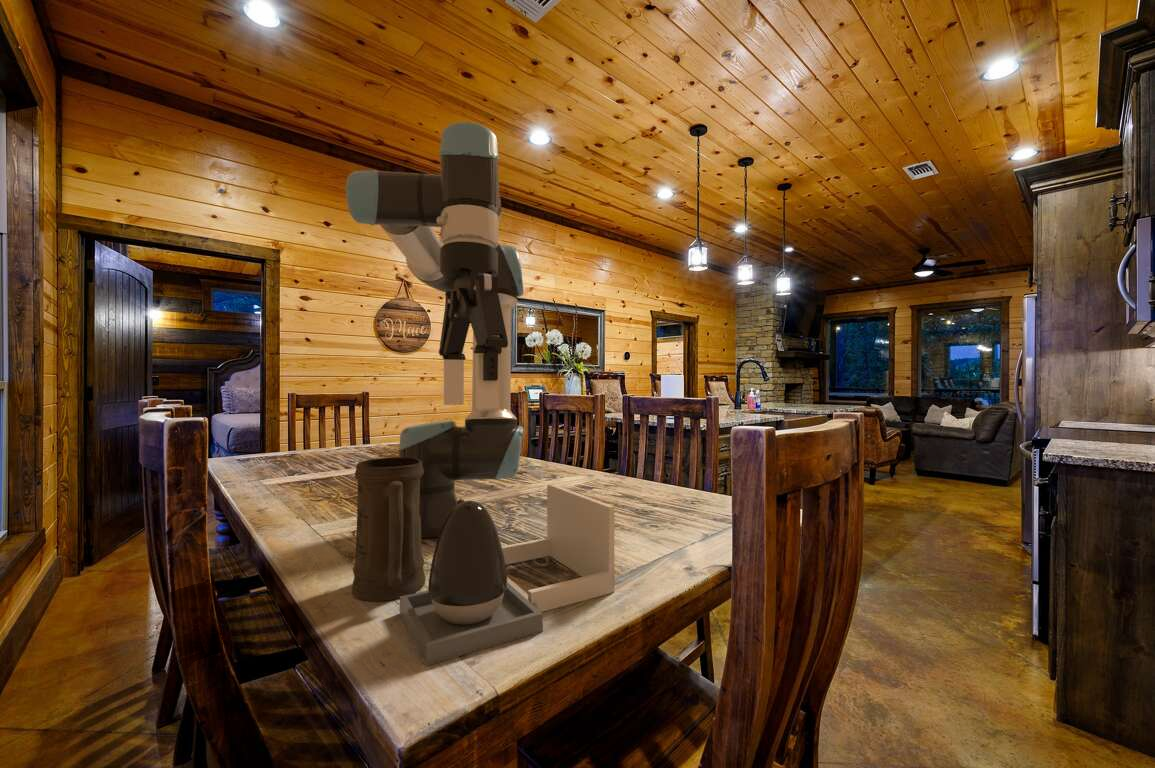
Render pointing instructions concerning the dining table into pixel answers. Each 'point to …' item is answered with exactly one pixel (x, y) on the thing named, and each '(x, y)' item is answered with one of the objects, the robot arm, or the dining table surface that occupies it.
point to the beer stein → (388, 529)
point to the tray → (467, 626)
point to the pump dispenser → (467, 566)
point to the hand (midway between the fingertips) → (469, 406)
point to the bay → (571, 549)
